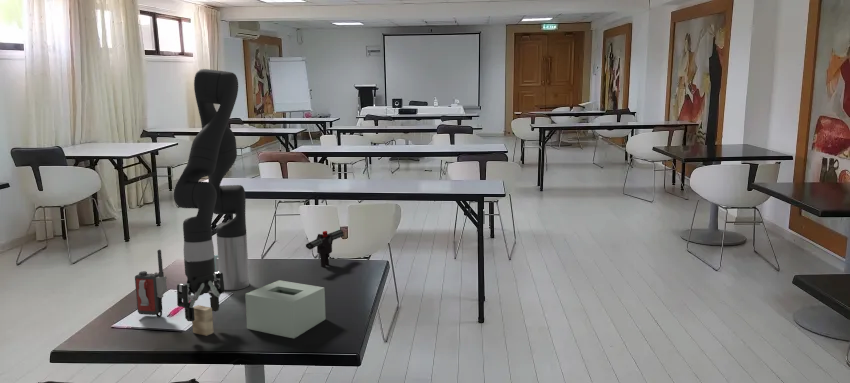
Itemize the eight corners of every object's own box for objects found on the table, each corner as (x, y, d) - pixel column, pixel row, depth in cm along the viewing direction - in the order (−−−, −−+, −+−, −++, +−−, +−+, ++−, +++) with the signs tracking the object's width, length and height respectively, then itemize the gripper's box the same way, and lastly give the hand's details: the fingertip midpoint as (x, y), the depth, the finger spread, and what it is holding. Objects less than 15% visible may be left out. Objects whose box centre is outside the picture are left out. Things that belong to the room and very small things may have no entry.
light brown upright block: (192, 332, 170) (191, 307, 169) (199, 329, 172) (198, 305, 171) (206, 335, 168) (205, 310, 167) (213, 332, 170) (211, 307, 169)
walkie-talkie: (170, 316, 183) (165, 248, 180) (161, 321, 179) (156, 252, 176) (143, 314, 185) (137, 247, 182) (133, 319, 180) (127, 251, 177)
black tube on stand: (347, 266, 234) (346, 226, 232) (316, 280, 217) (315, 237, 214) (335, 264, 236) (333, 225, 234) (304, 278, 219) (302, 236, 217)
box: (247, 329, 172) (245, 293, 171) (280, 313, 185) (279, 280, 183) (294, 339, 165) (292, 302, 164) (325, 321, 177) (324, 287, 176)
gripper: (208, 249, 175) (212, 306, 177) (167, 261, 162) (171, 322, 164) (229, 252, 171) (232, 309, 174) (188, 264, 159) (192, 326, 161)
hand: (202, 315), depth 169 cm, fingers open, 8 cm apart
